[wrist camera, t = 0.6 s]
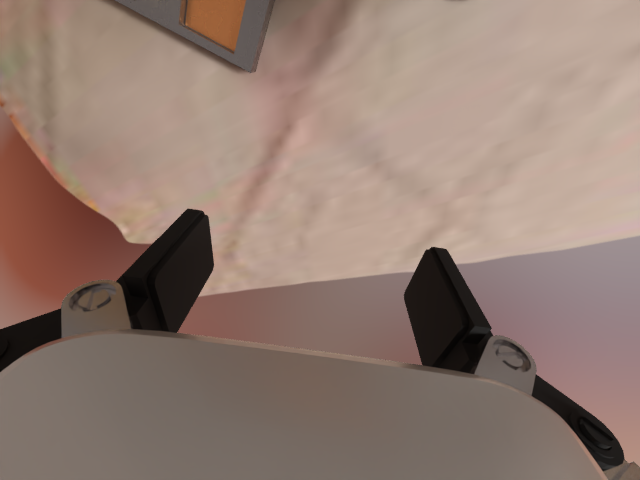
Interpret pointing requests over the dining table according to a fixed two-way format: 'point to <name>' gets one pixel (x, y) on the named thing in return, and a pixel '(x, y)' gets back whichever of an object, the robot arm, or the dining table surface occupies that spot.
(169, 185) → the dining table surface
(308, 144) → the dining table surface
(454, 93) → the dining table surface
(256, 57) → the divided tray
